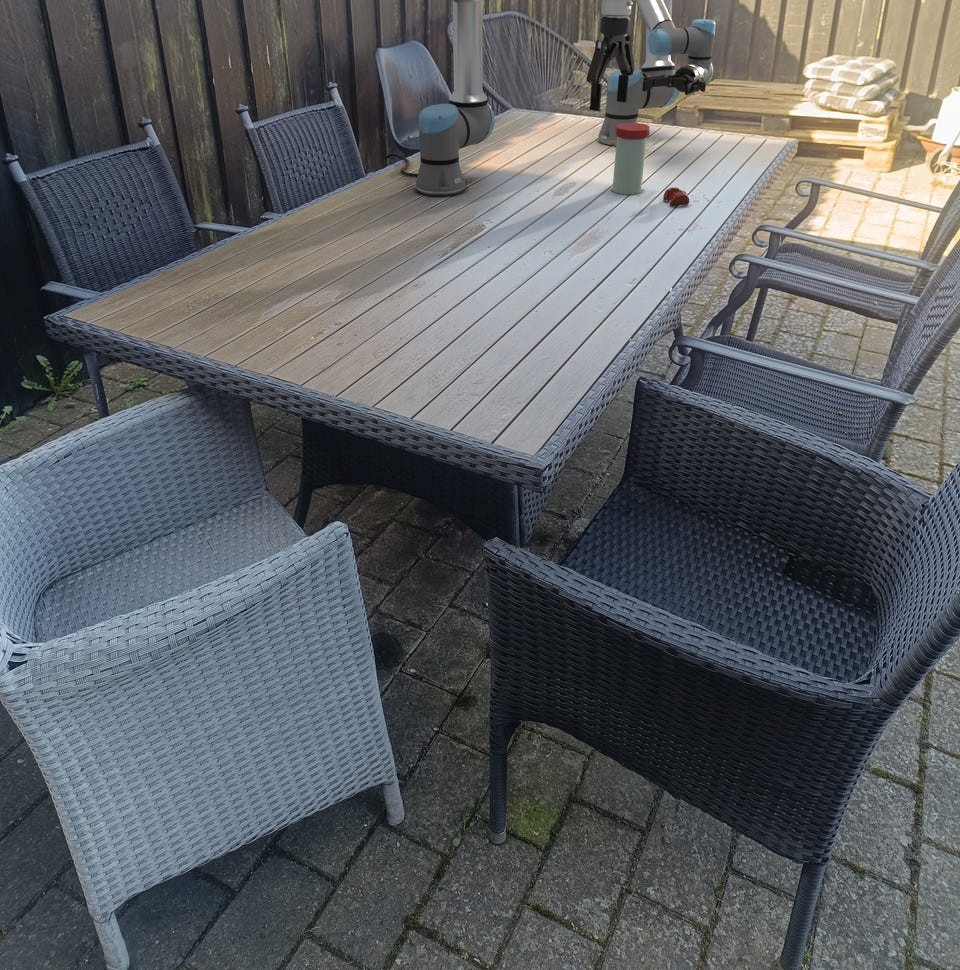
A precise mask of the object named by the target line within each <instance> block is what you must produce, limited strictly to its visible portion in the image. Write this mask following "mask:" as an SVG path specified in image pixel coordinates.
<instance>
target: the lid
mask: <svg viewBox="0 0 960 970" xmlns="http://www.w3.org/2000/svg"><path fill="white" fill-rule="evenodd" d="M650 132H651V127H650V125H648V124H645V123H639V122H638V123H622V124H618V125H617V126H616V132H615V134H616V136H617V137H620V138H624V139H644V138H647V139H648V138H649V136H650Z"/></svg>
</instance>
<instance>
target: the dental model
mask: <svg viewBox="0 0 960 970" xmlns="http://www.w3.org/2000/svg"><path fill="white" fill-rule="evenodd" d="M662 201H670V202H669V205H670V207H676V206H688V205H689V204H690V198H689V196H688V195H687V192H686V190H683V189H680V188H679V187H669V188H668V189H666V190H665V191H664V193H663V199H662Z"/></svg>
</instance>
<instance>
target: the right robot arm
mask: <svg viewBox="0 0 960 970" xmlns="http://www.w3.org/2000/svg"><path fill="white" fill-rule="evenodd" d="M634 1H635V3H636V6H637V8H638V10H639V12H640V14H641V17H642V18H643V20H644V22H645V62H644V63H643V65H642V66H641V67H640V68H641V69H640V68H635V70H634V72H633V75H632V76H630V75H629V82H628V93H627V102H618V101H617V92H618V80H619V75H622V74H621V72H620V69H618V70H615V71H613V72H612V73H611V74H609V76H608V80H607V85H606V101H605V114H604V120H603V122H602V125H601V127H600V129H599V132H598V135H597V141H598V142H599V143H601V144H603V145H607V146H614V147H616V143H617V136H616V134H615V132H616V126H617V125H618V124H622V123H639V119H638V118H639V110H643V109H657V108H664V107H670V106H672V105H673V104H674V103H675V102H676V101H677V99H678V98H679V95H680V93H684V96H689V95H691V94H693V93H698V92H699V91H700V92H702V93H704V92H706V88H707V83H709V81H710V80H711V79H712V78H713V75H714V66H713V63H712V57H713V56H712V54H713V47H714V42H715V36H716V21H715V20H713V19H708V18H698V19H697V18H696V19H693V20H692V22H691V25H690V26H688V27H676V25H675V23H674V21H673V19H672V16H673V15H672V14H673V13H672V12H673V0H634ZM674 55H676V56H677V55H687V64H686V65H684V66H681V67H680V68H678V69H677V70H676V67H675V66H676V65H675V63H674V62H673V61H672V60H671V58H672V57H671V56H674Z"/></svg>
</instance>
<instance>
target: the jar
mask: <svg viewBox="0 0 960 970" xmlns="http://www.w3.org/2000/svg"><path fill="white" fill-rule="evenodd" d="M647 142H648V137H647V138H644V139H624V138H620V137H617V143H616V146H615V155H614V166H613V178H612V187H611V188H612V189H611V190H612V192H613V193H616V194H619V195H636V194H640V193H641V192H642V187H643V186H642V185H643V177H644V169H645V158H646V151H647Z"/></svg>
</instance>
